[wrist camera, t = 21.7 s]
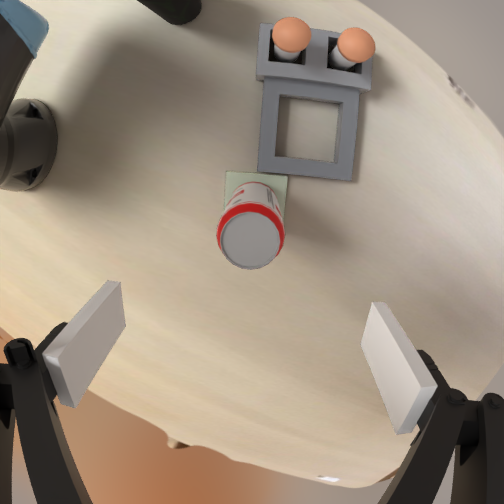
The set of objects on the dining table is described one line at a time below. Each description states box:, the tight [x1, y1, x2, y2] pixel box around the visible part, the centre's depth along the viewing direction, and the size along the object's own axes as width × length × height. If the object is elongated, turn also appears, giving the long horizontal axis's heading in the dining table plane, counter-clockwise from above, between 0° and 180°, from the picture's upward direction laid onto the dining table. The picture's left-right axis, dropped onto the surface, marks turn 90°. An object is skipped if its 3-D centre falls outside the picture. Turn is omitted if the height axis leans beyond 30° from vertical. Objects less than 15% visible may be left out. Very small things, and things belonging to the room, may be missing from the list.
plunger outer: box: [328, 28, 375, 71], centre depth 31 cm, size 4×4×8 cm
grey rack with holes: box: [256, 23, 372, 181], centre depth 36 cm, size 14×19×4 cm
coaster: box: [224, 171, 288, 220], centre depth 43 cm, size 8×8×1 cm
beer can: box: [216, 181, 285, 270], centre depth 35 cm, size 6×6×16 cm
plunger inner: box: [272, 17, 311, 63], centre depth 31 cm, size 4×4×8 cm
